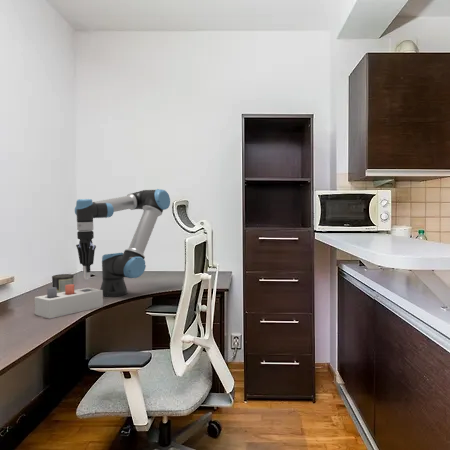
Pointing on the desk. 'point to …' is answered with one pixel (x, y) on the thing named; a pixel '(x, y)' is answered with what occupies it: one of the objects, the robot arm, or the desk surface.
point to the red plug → (69, 289)
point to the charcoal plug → (51, 292)
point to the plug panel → (68, 303)
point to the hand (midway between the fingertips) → (87, 278)
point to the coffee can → (62, 281)
